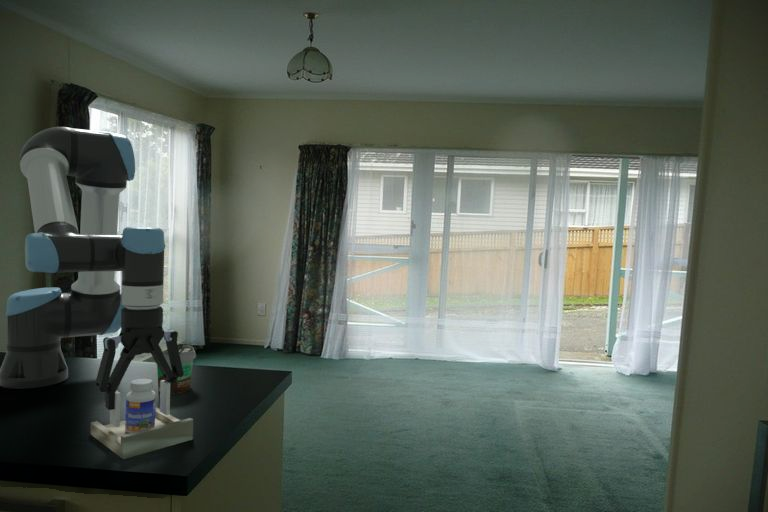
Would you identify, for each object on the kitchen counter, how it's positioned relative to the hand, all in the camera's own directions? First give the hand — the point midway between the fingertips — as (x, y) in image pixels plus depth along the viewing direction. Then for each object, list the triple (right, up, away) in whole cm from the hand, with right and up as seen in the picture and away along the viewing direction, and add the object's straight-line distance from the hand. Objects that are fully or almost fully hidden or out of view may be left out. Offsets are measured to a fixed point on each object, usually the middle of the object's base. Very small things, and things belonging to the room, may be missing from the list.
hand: (140, 418), depth 108 cm
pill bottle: (0, -2, 0) cm, 3 cm away
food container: (-3, -2, +30) cm, 30 cm away
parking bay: (0, -4, 0) cm, 4 cm away
